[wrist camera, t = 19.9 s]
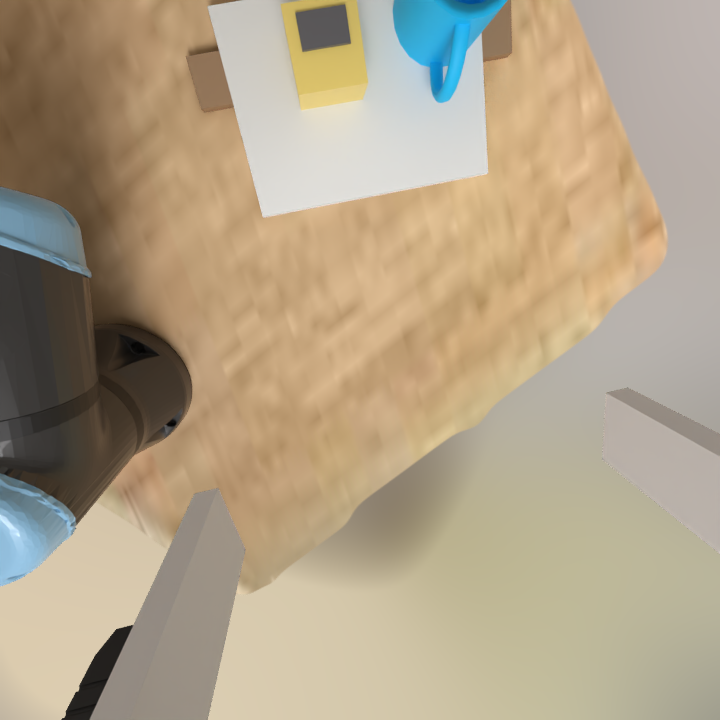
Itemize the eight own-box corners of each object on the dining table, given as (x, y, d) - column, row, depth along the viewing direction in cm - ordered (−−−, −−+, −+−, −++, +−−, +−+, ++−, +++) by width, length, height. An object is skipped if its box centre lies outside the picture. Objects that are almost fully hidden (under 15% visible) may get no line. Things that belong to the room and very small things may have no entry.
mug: (394, -51, 30) (419, -148, 22) (485, -44, 31) (539, -134, 23) (390, 114, 34) (410, 80, 27) (470, 117, 35) (512, 85, 27)
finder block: (300, 110, 33) (298, 93, 29) (285, 31, 31) (279, 1, 27) (362, 99, 33) (368, 81, 29) (351, 20, 31) (356, -12, 27)
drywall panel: (236, 223, 37) (234, 222, 36) (177, 20, 31) (172, 12, 30) (509, 169, 38) (515, 168, 37) (504, -37, 32) (511, -46, 31)
